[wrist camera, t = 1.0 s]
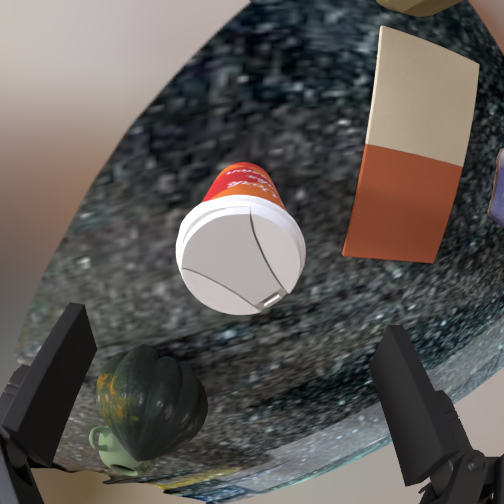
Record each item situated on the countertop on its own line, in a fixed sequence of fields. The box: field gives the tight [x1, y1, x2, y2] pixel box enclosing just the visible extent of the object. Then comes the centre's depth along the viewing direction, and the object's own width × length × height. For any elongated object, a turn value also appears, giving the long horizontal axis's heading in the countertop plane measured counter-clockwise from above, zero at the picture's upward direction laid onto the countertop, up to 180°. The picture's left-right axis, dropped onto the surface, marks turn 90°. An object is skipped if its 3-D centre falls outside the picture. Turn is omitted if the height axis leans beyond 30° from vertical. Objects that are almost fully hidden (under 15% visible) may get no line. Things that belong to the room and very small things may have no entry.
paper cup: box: [176, 162, 306, 315], centre depth 24 cm, size 8×8×14 cm
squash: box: [96, 344, 208, 462], centre depth 37 cm, size 14×15×15 cm
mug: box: [89, 425, 159, 476], centre depth 49 cm, size 16×13×9 cm
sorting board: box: [342, 26, 479, 263], centre depth 28 cm, size 24×12×1 cm, turn 175°
